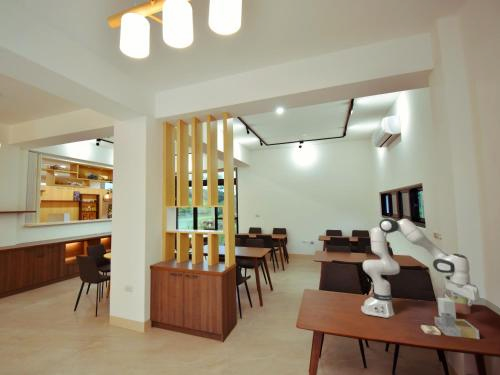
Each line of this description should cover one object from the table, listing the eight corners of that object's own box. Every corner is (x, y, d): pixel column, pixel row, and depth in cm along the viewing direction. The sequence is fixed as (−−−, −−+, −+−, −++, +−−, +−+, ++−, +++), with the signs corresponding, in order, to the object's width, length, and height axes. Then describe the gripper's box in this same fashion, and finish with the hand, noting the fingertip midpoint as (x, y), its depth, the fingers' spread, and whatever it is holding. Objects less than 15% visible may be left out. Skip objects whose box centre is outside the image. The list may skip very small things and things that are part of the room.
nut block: (445, 324, 149) (445, 315, 149) (441, 320, 154) (441, 312, 154) (455, 325, 148) (454, 316, 148) (451, 321, 152) (450, 313, 153)
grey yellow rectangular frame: (446, 335, 145) (445, 326, 146) (435, 324, 159) (434, 316, 159) (479, 339, 141) (478, 330, 141) (465, 327, 155) (464, 319, 155)
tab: (425, 333, 148) (425, 330, 148) (421, 328, 155) (420, 324, 155) (440, 335, 146) (440, 331, 146) (435, 329, 153) (435, 326, 153)
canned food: (450, 307, 185) (448, 291, 186) (469, 310, 179) (467, 294, 180) (451, 312, 176) (450, 295, 177) (472, 316, 170) (470, 299, 171)
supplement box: (456, 320, 164) (455, 301, 165) (444, 319, 165) (443, 301, 166) (450, 315, 171) (448, 297, 172) (438, 315, 172) (437, 297, 173)
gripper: (482, 285, 141) (483, 309, 140) (451, 274, 161) (452, 295, 161) (472, 286, 141) (473, 309, 140) (442, 275, 161) (443, 295, 161)
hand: (462, 302), depth 151 cm, fingers open, 8 cm apart
